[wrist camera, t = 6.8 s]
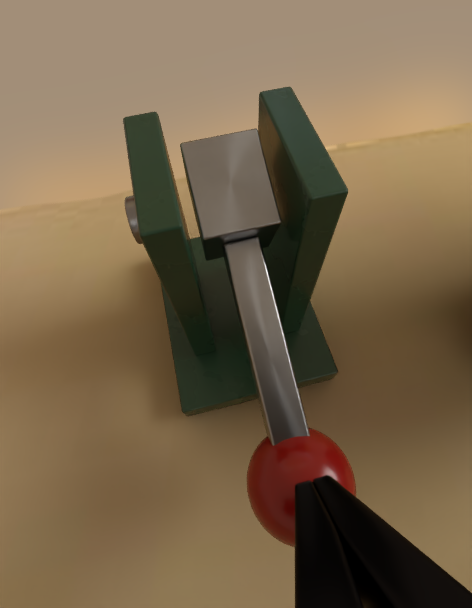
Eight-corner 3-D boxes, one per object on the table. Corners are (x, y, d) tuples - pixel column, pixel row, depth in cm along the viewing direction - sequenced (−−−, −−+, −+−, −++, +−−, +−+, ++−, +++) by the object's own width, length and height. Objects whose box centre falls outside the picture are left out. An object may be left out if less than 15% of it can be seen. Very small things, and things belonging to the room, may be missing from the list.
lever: (343, 496, 11) (391, 557, 8) (255, 522, 11) (270, 594, 8) (259, 173, 12) (273, 117, 9) (177, 190, 12) (163, 138, 9)
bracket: (332, 379, 15) (440, 259, 7) (186, 417, 15) (98, 341, 6) (276, 233, 20) (298, 40, 11) (159, 258, 19) (83, 77, 10)
